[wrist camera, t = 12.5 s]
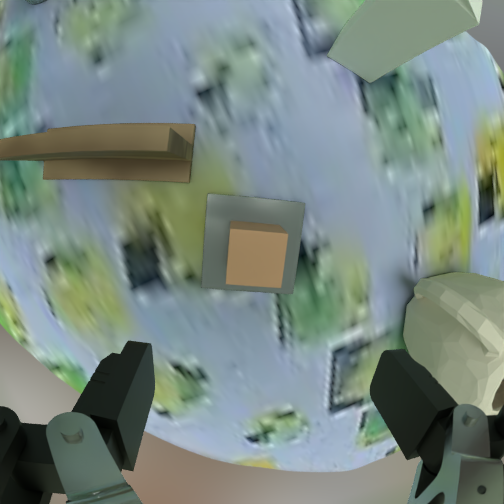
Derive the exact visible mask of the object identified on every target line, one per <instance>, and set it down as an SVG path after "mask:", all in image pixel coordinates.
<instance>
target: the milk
mask: <svg viewBox="0 0 504 504" xmlns="http://www.w3.org/2000/svg"><path fill="white" fill-rule="evenodd" d="M481 7H482V0H365V1H364V3H363V4H362V5H361V6H360V7H359V8H358V10H357V11H356V12H355V13H354V14H353V16H352V17H351V18H350V19H349V20H348V22H347V23H346V24H345V25H344V27H343V29H342V30H341V32H340V34H339V36H338V37H337V39H336V41H335V42H334V44H333V46H332V47H331V49H330V51H329V53H328V54H327V56H328V57H329V58H331V59H333V60H334V61H336V62H338V63H339V64H341V65H343V66H344V67H346V68H347V69H349V70H351V71H352V72H354V73H355V74H357V75H358V76H360V77H361V78H363V79H364V80H366V81H367V82H369V83H372V82H373V81H375V80H376V79H378V78H380V77H381V76H383V75H385V74H386V73H388V72H390V71H392V70H393V69H395V68H397V67H398V66H400V65H402V64H404V63H405V62H407V61H409V60H411V59H413V58H414V57H416V56H418V55H420V54H422V53H423V52H425V51H427V50H429V49H431V48H433V47H435V46H436V45H438V44H440V43H442V42H444V41H446V40H448V39H450V38H452V37H454V36H456V35H458V34H460V33H462V32H464V31H466V30H468V29H470V28H473V27H475V26H477V25H478V24H479V21H480V14H481Z"/></svg>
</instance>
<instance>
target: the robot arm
mask: <svg viewBox="0 0 504 504" xmlns="http://www.w3.org/2000/svg"><path fill="white" fill-rule="evenodd" d="M25 1H27V2H28V3H30V4H38V3H41V2H43V1H45V0H25ZM154 391H155V377H154V366H153V354H152V346H151V344H150V343H143V342H136V341H128V342H127V343H126V345H125V347H124V348H123V350H122V352H121V354H116V353H111V354H110V355H109V356H107V357H106V358H104V359H103V360H101V362H100V364H99V365H98V367H97V368H96V370H95V373H93V375H92V377H91V379H90V381H89V382H88V384H87V385H86V387H85V389H84V390H83V392H82V394H81V396H80V398H79V399H78V401H77V403H76V405H75V406H74V408H73V410H72V411H71V412H66V413H62V414H59V415H57V416H55V417H54V418H53V419H52V420H51V421H50V422H49V423H48V425H41V424H29V423H21V422H20V420H19V418H18V416H17V414H16V413H15V412H14V411H13V410H11V409H9V408H7V407H3V406H0V504H49V503H50V500H51V496H52V493H60V494H66V495H67V498H68V501H66V504H143V503H142V502H141V500H140V499H139V497H138V496H137V494H136V493H135V492H134V490H133V489H132V487H131V486H130V485H128V484H127V482H126V480H125V479H124V477H123V475H122V474H121V471H122V469H125V470H129V471H133V470H134V466H135V463H136V458H137V455H138V451H139V447H140V443H141V440H142V436H143V432H144V429H145V425H146V422H147V418H148V415H149V411H150V408H151V404H152V401H153V397H154ZM370 396H371V399H372V401H373V402H374V404H375V406H376V408H377V409H378V411H379V413H380V414H381V416H382V418H383V419H384V421H385V423H386V425H387V426H388V428H389V430H390V431H391V433H392V435H393V437H394V438H395V440H396V442H397V444H398V445H399V447H400V449H401V451H402V452H403V454H404V456H405V458H406V459H407V460H409V459H412V458H416V457H419V456H420V457H421V461H420V462H419V464H418V466H417V470H416V474H415V478H414V482H413V486H412V489H411V493H410V497H409V500H408V503H407V504H504V464H503V462H502V460H501V458H502V457H503V456H504V405H503V406H502V408H501V409H500V411H499V413H498V414H497V415H486V414H485V413H484V412H483V411H482V410H481V409H480V408H478V407H476V406H474V405H471V404H461V405H458V404H457V402H456V401H455V400H454V399H453V398H452V397H451V396H450V394H449V393H448V392H447V391H446V390H445V389H444V388H443V387H442V385H441V384H440V383H439V384H438V381H437V380H436V379H435V378H434V377H432V374H431V373H430V372H429V371H428V370H427V369H426V368H425V367H424V366H422V365H421V364H419V363H418V362H416V361H415V360H414V359H413V358H412V357H411V356H410V355H409V354H408V353H407V352H406V351H405V350H404V349H396V350H385V351H384V352H383V353H382V354H381V357H380V360H379V363H378V365H377V368H376V371H375V374H374V376H373V379H372V382H371V385H370Z"/></svg>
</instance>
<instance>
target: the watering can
mask: <svg viewBox="0 0 504 504" xmlns="http://www.w3.org/2000/svg"><path fill="white" fill-rule="evenodd" d="M414 294H415V296H414V297H413V298H412V300H411V301H410V302H409V303H408V305H407V308H406V317H405V324H404V332H403V337H404V341H405V344H406V347H407V349H408V352H409V354H410V356H411V357H412V358H413V359H414V360H415V361H416V362H418V363H419V364H421V365H422V366H424V367H425V368H426V369H427V370H428V371H429V372H430V373H431V374H432V377H434V378H435V379H436V380H437V381H438V384H439V383H440V384H441V385H442V387H443V388H444V389H445V390H446V391H447V392H448V393H449V394H450V396H451V397H452V398H453V399H454V400H455V401H456V402H457V404H458V405H461V404H471V405H474V406H476V407H478V408H480V409H481V410H482V411H483V412H484V413H485V414H486V415H497V414H498V413H499V411H500V409H501V408H502V406H503V405H504V281H501V280H497V279H494V278H490V277H487V276H483V275H479V274H476V273H463V272H452V273H447V274H442V275H438V276H433V277H430V278H421V279H420V281H419V282H418V283H417V284H416V286H415V287H414Z"/></svg>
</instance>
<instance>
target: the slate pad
mask: <svg viewBox="0 0 504 504" xmlns="http://www.w3.org/2000/svg"><path fill="white" fill-rule="evenodd" d="M304 210H305V203H302V202H294V201H285V200H276V199H266V198H256V197H246V196H235V195H223V194H210V193H208V195H207V208H206V220H205V234H204V249H203V266H202V285H201V288H211V289H223V290H236V291H250V292H265V293H281V294H293V289H294V283H295V276H296V269H297V262H298V255H299V248H300V241H301V233H302V226H303V218H304ZM231 221H242V222H253V223H264V224H274V225H280V226H281V227H282V228H283V229H284V230H285V231H286V232H287V233H288V240H287V248H286V255H285V263H284V270H283V278H282V285H281V288H272V287H257V286H244V285H230V284H226V270H227V257H228V245H229V234H230V222H231Z"/></svg>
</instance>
